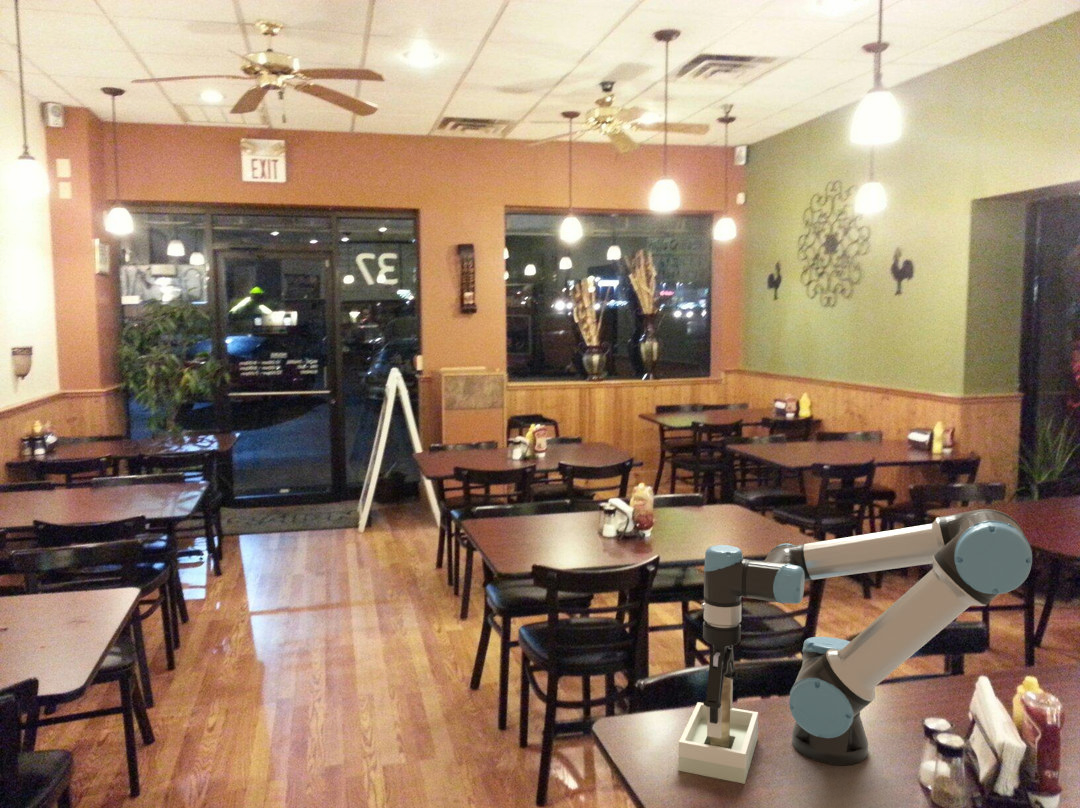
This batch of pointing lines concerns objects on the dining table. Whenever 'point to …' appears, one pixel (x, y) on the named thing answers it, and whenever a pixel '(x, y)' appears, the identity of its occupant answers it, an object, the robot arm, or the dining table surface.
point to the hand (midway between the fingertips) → (720, 721)
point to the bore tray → (714, 759)
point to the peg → (724, 717)
